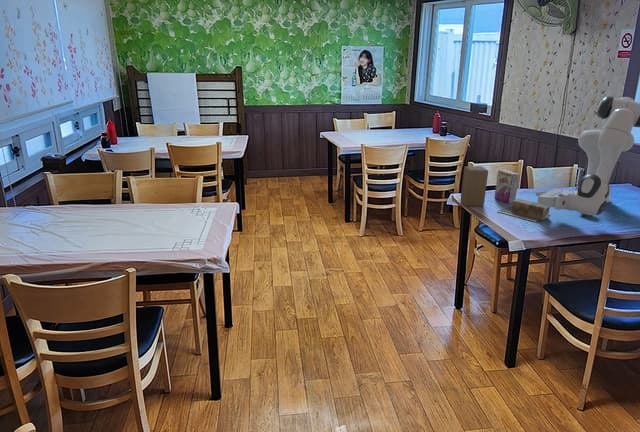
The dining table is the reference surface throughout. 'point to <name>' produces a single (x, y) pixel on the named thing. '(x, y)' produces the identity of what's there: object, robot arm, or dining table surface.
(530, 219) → the grey flat plate
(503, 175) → the candy bar box
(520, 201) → the walnut block
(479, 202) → the wooden block
